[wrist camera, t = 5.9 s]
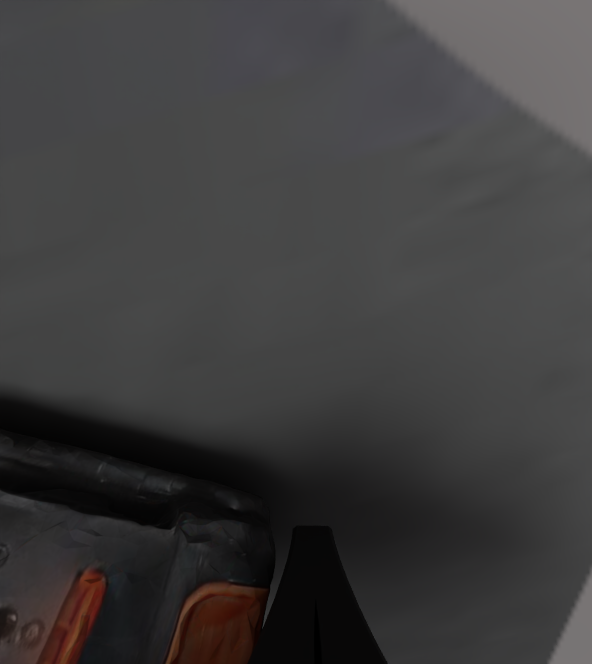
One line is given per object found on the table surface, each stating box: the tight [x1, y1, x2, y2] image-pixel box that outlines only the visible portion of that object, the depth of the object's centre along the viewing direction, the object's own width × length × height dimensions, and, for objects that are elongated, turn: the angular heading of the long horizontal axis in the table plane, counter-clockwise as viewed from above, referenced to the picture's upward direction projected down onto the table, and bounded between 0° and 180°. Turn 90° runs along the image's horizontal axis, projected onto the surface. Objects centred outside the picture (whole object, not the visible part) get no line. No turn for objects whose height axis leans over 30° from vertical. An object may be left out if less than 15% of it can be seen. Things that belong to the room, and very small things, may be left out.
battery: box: [0, 429, 275, 664], centre depth 10 cm, size 12×8×7 cm
